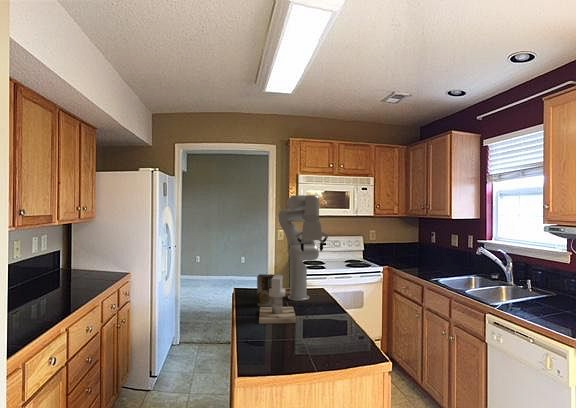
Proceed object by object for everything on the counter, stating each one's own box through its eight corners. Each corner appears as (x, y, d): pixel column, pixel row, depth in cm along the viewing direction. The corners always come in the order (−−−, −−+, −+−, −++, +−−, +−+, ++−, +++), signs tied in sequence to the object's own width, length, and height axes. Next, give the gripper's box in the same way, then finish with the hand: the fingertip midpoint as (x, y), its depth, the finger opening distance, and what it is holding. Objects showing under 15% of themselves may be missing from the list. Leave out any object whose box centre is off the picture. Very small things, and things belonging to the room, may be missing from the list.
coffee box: (275, 303, 194) (275, 274, 194) (273, 306, 188) (273, 276, 188) (258, 302, 195) (259, 273, 195) (256, 306, 188) (256, 276, 189)
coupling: (267, 297, 165) (267, 278, 165) (270, 292, 176) (270, 274, 176) (289, 298, 164) (289, 279, 164) (291, 293, 175) (291, 275, 175)
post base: (260, 311, 179) (260, 291, 179) (293, 310, 180) (293, 291, 180) (259, 323, 159) (259, 301, 159) (296, 323, 160) (296, 301, 160)
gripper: (296, 218, 180) (296, 251, 180) (329, 218, 181) (329, 251, 181) (295, 218, 188) (294, 250, 187) (326, 218, 189) (326, 250, 188)
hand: (311, 251), depth 184 cm, fingers open, 9 cm apart
